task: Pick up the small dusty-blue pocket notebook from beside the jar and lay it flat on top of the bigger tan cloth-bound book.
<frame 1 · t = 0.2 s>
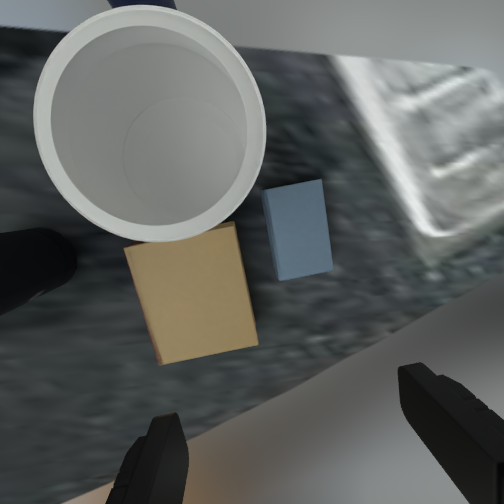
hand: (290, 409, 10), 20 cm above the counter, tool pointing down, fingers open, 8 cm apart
jar: (195, 169, 27), on the counter
big book: (200, 283, 30), on the counter
pocket book: (293, 228, 29), on the counter
wine bottle: (46, 258, 28), on the counter
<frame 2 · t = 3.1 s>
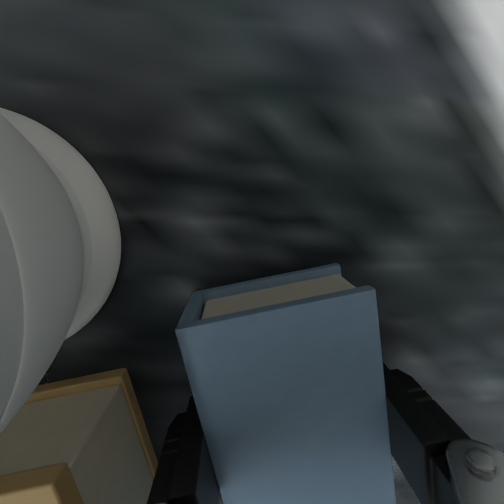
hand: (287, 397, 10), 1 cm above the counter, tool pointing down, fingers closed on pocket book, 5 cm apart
jar: (2, 237, 10), on the counter
pocket book: (283, 378, 11), on the counter, touching gripper
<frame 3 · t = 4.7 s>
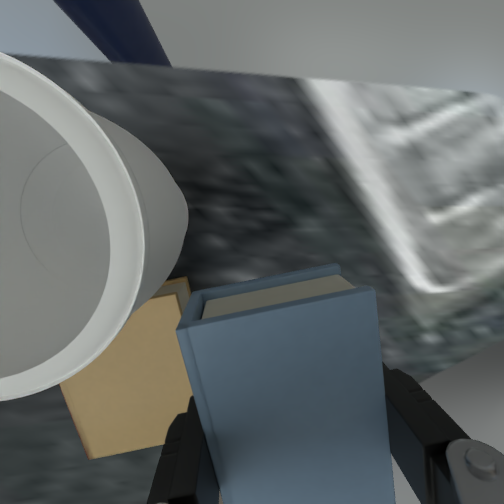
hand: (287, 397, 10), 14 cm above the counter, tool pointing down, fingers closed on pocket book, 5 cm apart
jar: (137, 215, 22), on the counter
big book: (148, 348, 25), on the counter
pocket book: (283, 378, 11), point 13 cm above the counter, touching gripper
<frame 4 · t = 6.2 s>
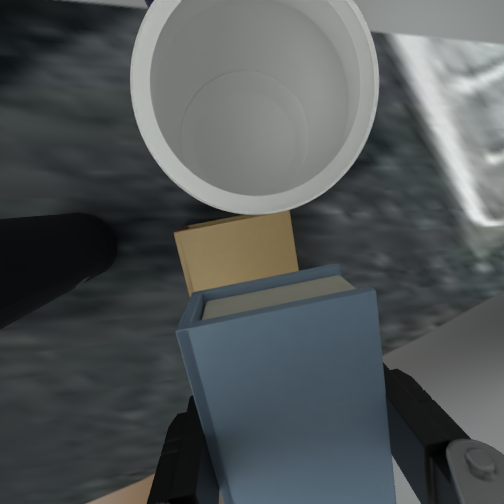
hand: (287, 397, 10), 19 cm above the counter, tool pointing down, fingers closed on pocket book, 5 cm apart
jar: (242, 153, 26), on the counter
big book: (243, 273, 29), on the counter
pocket book: (284, 378, 11), point 18 cm above the counter, touching gripper
wine bottle: (84, 245, 27), on the counter
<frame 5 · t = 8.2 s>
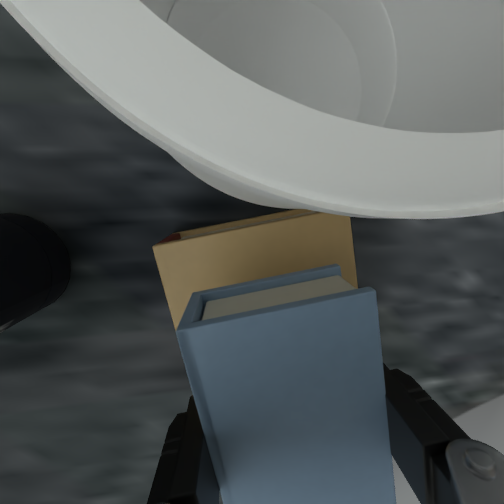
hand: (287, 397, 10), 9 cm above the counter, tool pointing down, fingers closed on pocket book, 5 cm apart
jar: (264, 118, 17), on the counter
big book: (263, 302, 19), on the counter
pocket book: (284, 379, 11), point 8 cm above the counter, touching gripper
wine bottle: (21, 262, 18), on the counter
when the fingers open (6 cm above the counter, at t = 9.6 s): pocket book stays where it is, resting on big book.
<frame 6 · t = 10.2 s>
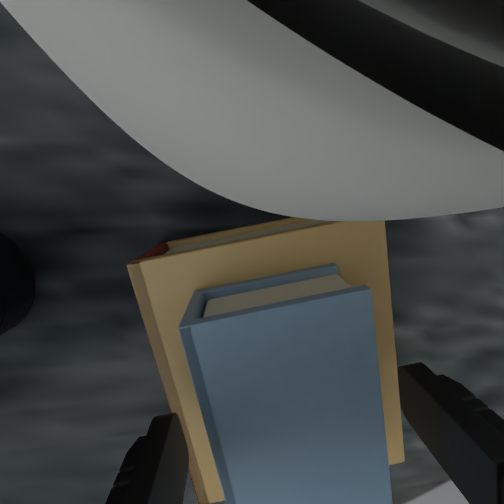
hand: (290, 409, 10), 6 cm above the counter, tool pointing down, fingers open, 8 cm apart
jar: (271, 102, 14), on the counter
big book: (269, 325, 16), on the counter, touching pocket book
pocket book: (283, 375, 12), point 5 cm above the counter, touching big book
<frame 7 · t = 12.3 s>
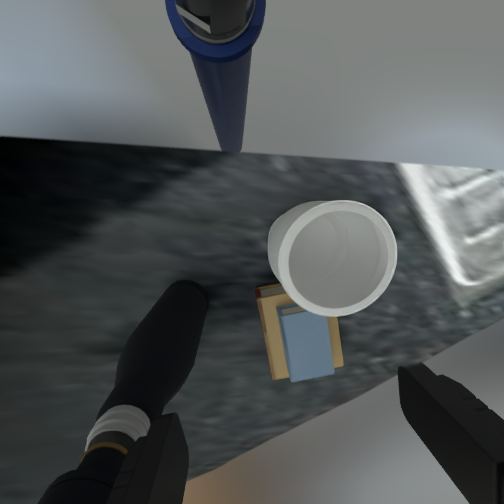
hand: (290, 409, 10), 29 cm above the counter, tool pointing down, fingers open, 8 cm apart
jar: (297, 239, 38), on the counter
big book: (294, 319, 40), on the counter, touching pocket book
pocket book: (302, 334, 36), point 5 cm above the counter, touching big book
wine bottle: (186, 301, 39), on the counter
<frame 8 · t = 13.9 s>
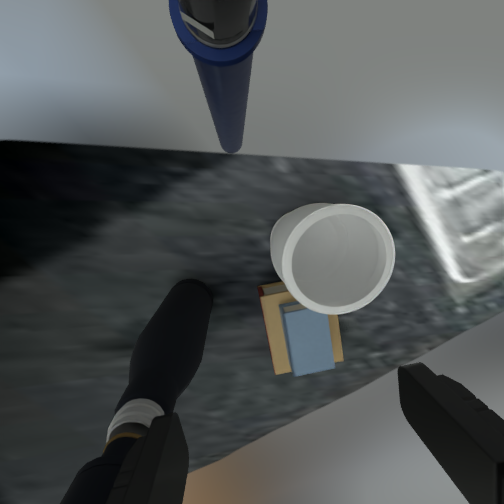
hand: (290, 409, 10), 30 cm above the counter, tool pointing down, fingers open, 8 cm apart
jar: (298, 238, 39), on the counter
big book: (296, 315, 42), on the counter, touching pocket book
pocket book: (303, 330, 37), point 5 cm above the counter, touching big book
wine bottle: (191, 299, 40), on the counter
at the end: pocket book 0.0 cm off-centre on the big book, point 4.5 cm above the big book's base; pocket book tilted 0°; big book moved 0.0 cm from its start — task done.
